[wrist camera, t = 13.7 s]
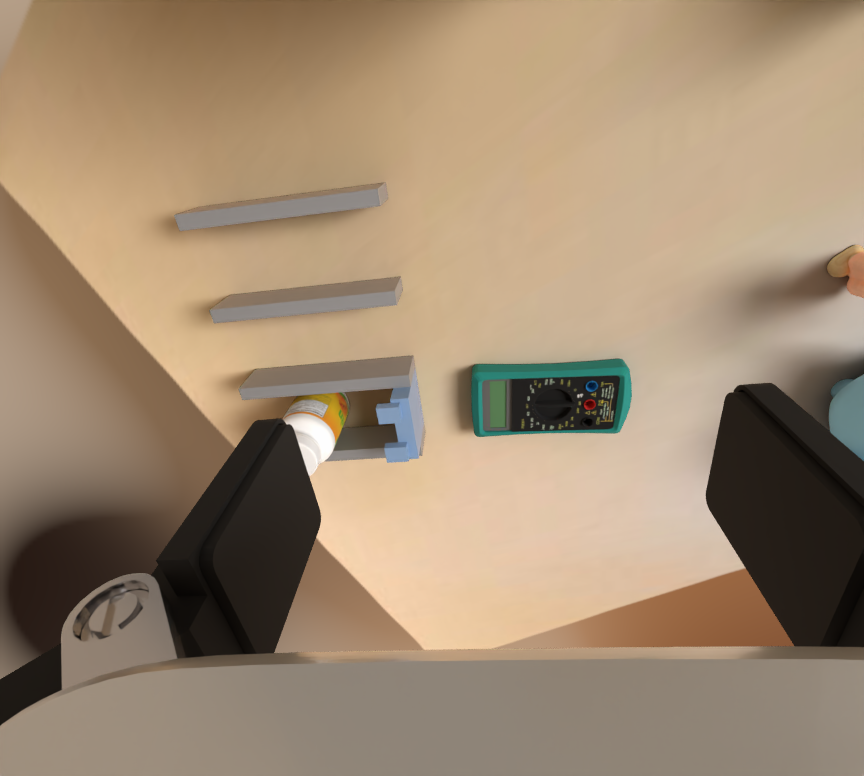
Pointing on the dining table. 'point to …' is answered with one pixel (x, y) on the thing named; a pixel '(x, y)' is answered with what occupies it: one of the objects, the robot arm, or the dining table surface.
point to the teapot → (848, 414)
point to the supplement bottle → (317, 425)
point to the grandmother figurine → (850, 268)
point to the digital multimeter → (550, 397)
